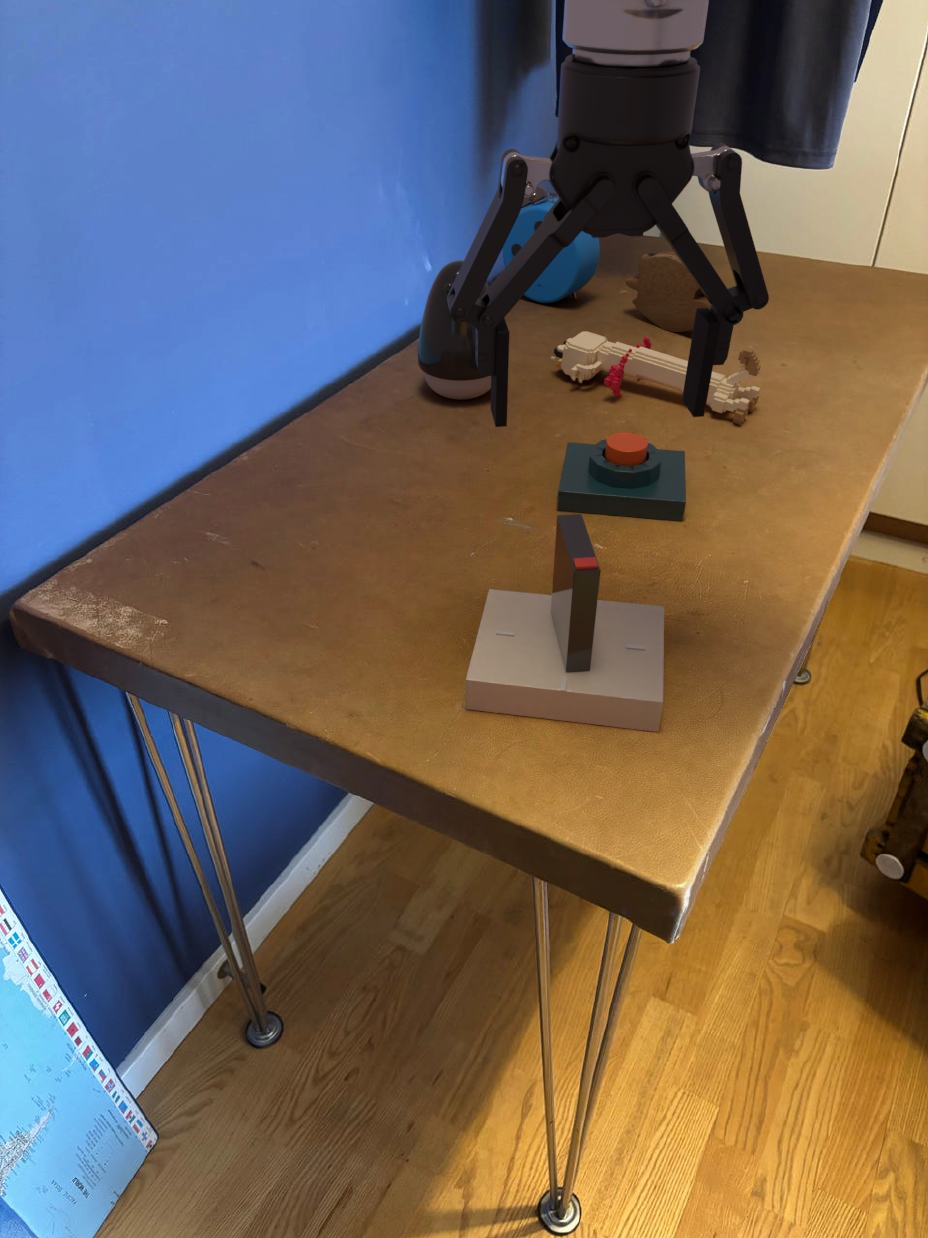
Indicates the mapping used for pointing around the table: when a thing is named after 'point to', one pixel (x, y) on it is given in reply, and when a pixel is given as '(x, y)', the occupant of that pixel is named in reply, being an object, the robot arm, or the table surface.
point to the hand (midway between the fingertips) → (596, 413)
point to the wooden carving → (667, 292)
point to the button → (626, 449)
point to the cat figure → (655, 370)
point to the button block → (623, 483)
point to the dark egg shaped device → (449, 344)
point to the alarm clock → (567, 266)
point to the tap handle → (574, 592)
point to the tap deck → (534, 670)
